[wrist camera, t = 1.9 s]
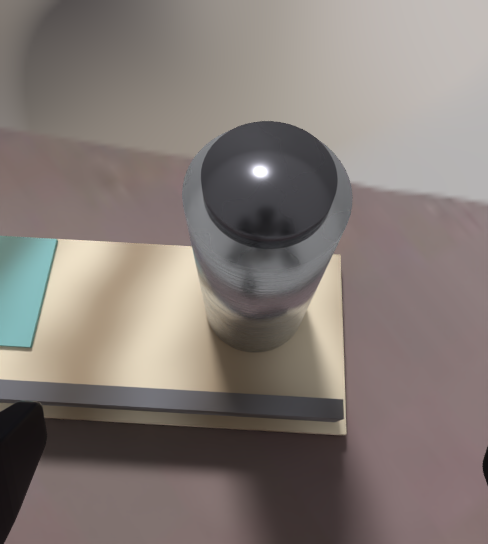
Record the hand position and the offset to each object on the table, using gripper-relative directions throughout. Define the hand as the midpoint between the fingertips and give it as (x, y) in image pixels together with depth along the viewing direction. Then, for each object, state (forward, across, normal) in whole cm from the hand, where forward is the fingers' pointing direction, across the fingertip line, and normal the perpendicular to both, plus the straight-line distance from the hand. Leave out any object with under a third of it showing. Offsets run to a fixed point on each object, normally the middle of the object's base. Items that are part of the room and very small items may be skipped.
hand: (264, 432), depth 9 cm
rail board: (+13, +7, +5) cm, 16 cm away
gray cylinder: (+13, 0, +4) cm, 14 cm away
